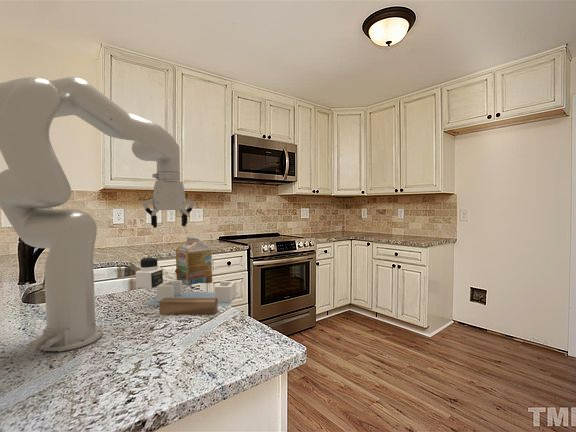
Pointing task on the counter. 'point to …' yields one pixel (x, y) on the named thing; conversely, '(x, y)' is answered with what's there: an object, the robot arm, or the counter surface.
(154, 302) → the board
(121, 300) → the counter surface
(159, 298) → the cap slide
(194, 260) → the milk carton
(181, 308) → the brown rectangular block
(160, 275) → the medicine bottle
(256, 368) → the counter surface
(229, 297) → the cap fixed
